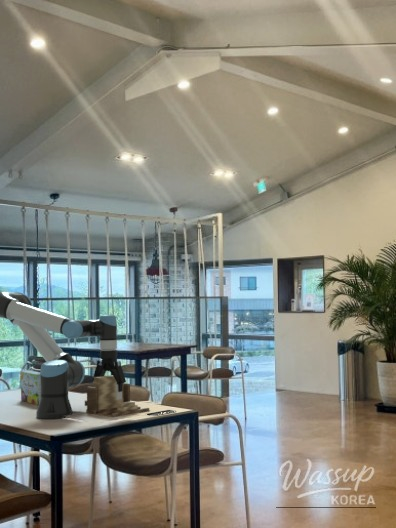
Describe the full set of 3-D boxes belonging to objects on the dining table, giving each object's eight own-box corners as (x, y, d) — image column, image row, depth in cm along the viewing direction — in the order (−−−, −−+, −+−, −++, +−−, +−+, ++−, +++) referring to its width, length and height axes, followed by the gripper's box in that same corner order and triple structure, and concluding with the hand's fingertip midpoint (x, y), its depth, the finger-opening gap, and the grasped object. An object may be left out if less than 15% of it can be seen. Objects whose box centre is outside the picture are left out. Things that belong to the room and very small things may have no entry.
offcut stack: (122, 414, 277) (122, 404, 277) (115, 413, 280) (115, 403, 280) (138, 412, 284) (138, 401, 284) (131, 411, 287) (131, 400, 287)
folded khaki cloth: (98, 412, 284) (98, 377, 285) (94, 411, 286) (93, 377, 287) (123, 408, 294) (123, 375, 295) (118, 408, 296) (118, 374, 297)
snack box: (19, 400, 333) (19, 370, 334) (30, 399, 337) (30, 370, 338) (36, 405, 316) (36, 373, 317) (47, 404, 320) (47, 372, 321)
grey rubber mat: (153, 416, 279) (153, 415, 279) (136, 413, 287) (136, 412, 287) (176, 411, 289) (176, 410, 289) (159, 409, 297) (159, 408, 297)
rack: (111, 419, 271) (111, 390, 272) (83, 415, 284) (83, 387, 285) (151, 412, 287) (150, 385, 288) (122, 408, 300) (122, 382, 301)
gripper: (133, 350, 286) (134, 399, 285) (97, 348, 303) (98, 395, 302) (120, 351, 281) (120, 401, 279) (84, 349, 298) (85, 396, 296)
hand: (109, 398), depth 290 cm, fingers open, 13 cm apart
